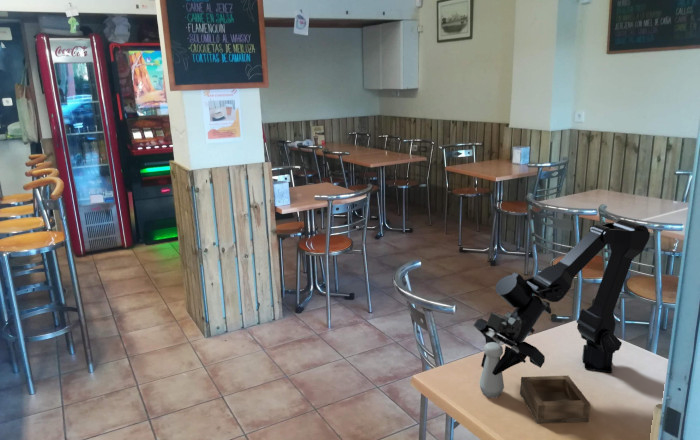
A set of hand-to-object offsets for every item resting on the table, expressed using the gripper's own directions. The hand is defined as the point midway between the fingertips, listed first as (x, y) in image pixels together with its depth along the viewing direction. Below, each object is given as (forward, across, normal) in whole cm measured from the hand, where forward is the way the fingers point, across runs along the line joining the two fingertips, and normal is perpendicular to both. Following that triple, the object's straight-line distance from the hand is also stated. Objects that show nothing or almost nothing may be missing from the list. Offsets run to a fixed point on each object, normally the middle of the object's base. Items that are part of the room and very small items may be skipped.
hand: (488, 370), depth 124 cm
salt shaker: (+4, 0, +6) cm, 7 cm away
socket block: (-2, +11, +12) cm, 16 cm away
